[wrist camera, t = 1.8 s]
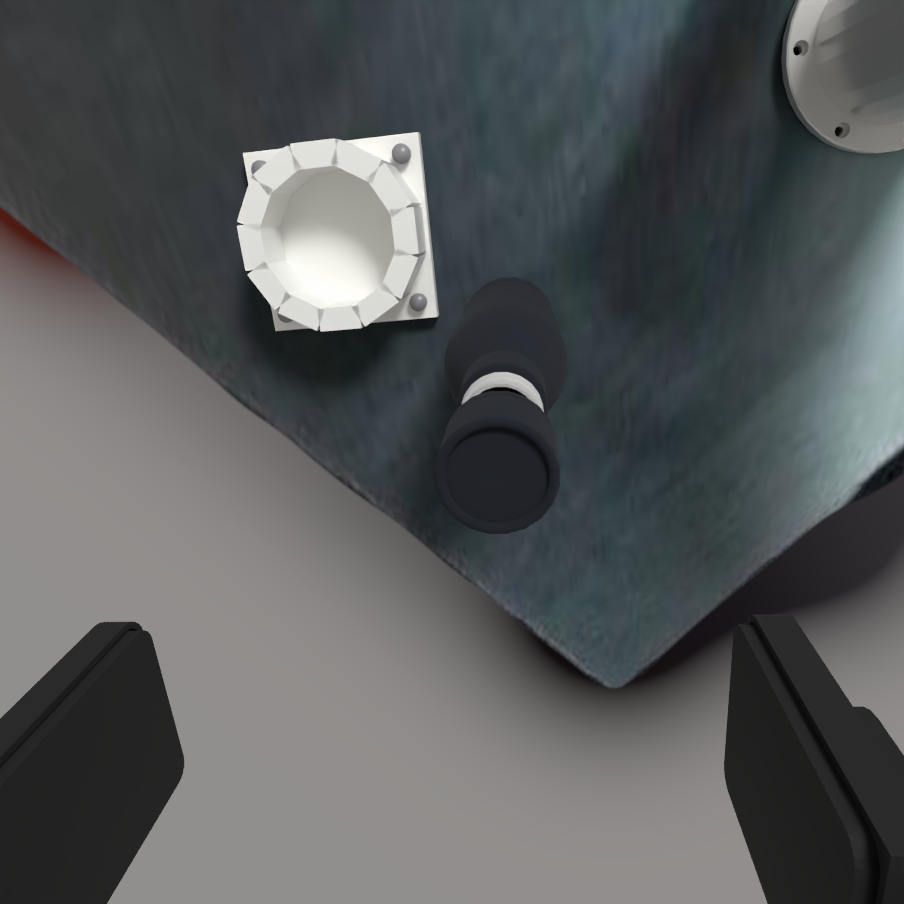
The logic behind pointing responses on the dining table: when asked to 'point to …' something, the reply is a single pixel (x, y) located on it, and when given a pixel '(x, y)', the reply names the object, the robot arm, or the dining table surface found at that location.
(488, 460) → the dark blue bottle
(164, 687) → the robot arm
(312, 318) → the flange socket
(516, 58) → the dining table surface
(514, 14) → the dining table surface
